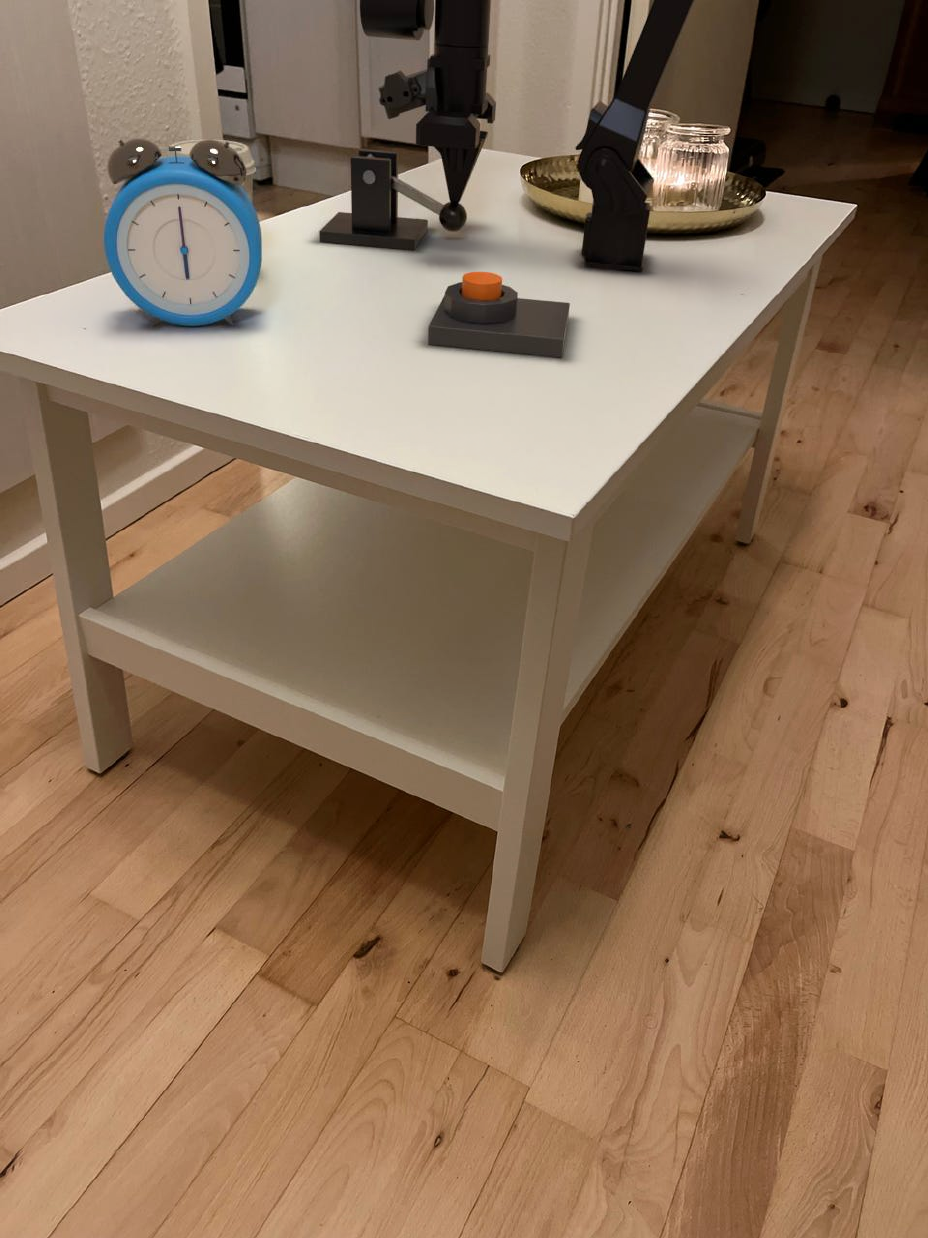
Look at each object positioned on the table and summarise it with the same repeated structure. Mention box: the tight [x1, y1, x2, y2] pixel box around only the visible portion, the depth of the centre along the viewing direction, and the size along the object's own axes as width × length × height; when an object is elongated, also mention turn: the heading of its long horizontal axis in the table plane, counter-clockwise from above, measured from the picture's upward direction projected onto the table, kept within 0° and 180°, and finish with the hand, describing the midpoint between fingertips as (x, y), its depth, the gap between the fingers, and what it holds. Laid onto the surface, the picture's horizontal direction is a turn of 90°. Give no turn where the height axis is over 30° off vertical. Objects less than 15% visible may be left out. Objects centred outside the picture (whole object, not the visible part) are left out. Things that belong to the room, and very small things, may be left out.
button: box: [461, 271, 503, 300], centre depth 89 cm, size 4×4×2 cm
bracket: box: [318, 148, 429, 251], centre depth 113 cm, size 11×9×9 cm
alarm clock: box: [103, 137, 263, 327], centre depth 86 cm, size 13×6×15 cm, turn 100°
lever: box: [367, 154, 468, 233], centre depth 112 cm, size 13×3×3 cm, turn 82°
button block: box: [427, 281, 571, 358], centre depth 91 cm, size 12×10×4 cm
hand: (455, 201), depth 112 cm, fingers closed, pressing on lever
